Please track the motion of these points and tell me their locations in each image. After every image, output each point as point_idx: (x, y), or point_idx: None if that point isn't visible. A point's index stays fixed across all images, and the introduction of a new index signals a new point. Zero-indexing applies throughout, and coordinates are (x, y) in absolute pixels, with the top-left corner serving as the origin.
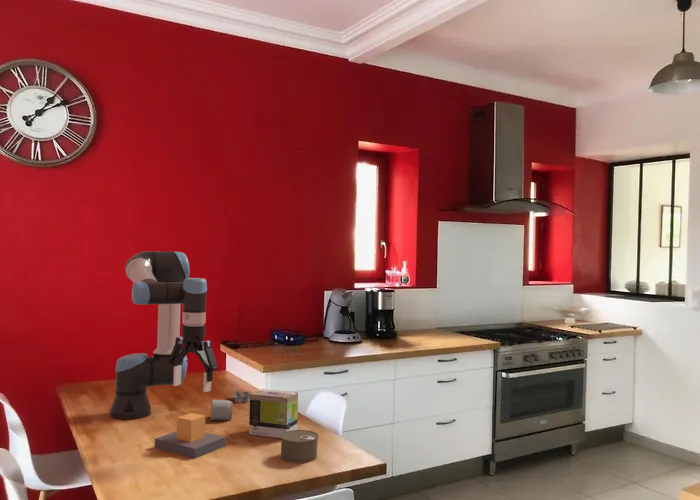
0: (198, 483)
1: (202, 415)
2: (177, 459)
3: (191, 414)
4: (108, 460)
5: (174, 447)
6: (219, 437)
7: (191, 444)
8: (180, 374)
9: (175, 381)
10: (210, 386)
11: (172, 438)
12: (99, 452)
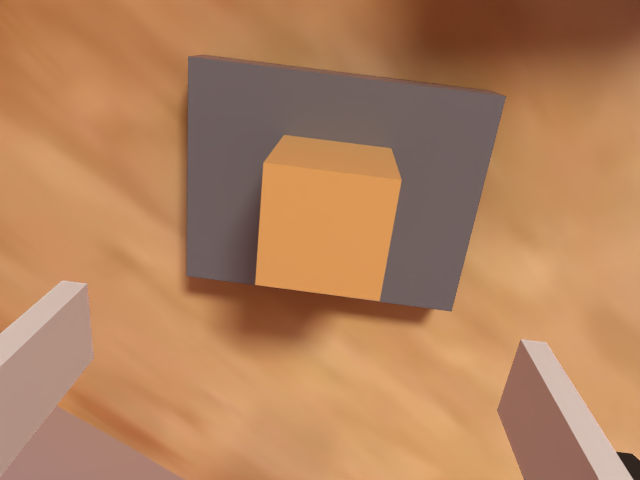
0: None
1: (374, 178)
2: (382, 323)
3: (290, 192)
4: (165, 417)
5: None
6: (475, 118)
7: (398, 272)
8: (14, 365)
9: (68, 383)
10: (562, 379)
11: (257, 241)
12: None
